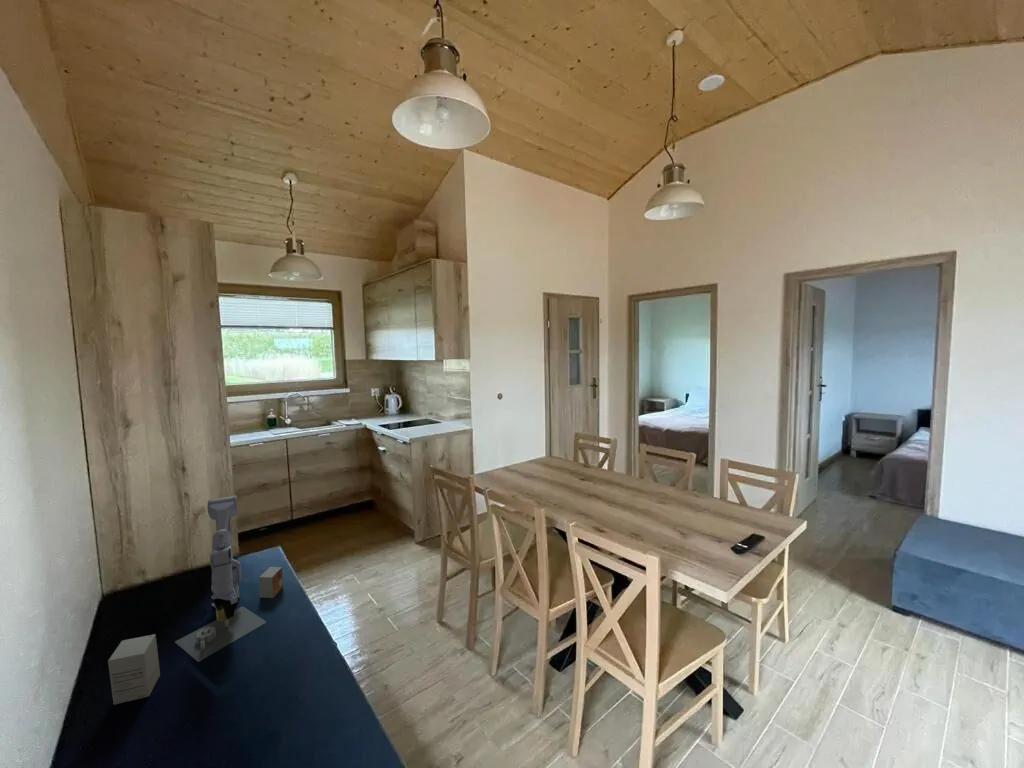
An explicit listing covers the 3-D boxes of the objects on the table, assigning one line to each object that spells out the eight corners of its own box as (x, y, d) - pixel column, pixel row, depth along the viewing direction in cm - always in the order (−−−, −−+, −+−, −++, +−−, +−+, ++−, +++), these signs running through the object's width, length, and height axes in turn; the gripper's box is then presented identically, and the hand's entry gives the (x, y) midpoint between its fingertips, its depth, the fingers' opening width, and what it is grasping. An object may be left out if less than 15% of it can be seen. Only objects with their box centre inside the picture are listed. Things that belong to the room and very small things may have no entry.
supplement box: (126, 682, 137) (121, 639, 134) (161, 674, 140) (156, 632, 138) (111, 705, 128) (106, 660, 126) (149, 697, 131) (144, 653, 129)
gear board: (174, 645, 152) (173, 634, 151) (242, 609, 172) (242, 599, 171) (198, 666, 144) (197, 653, 143) (267, 625, 163) (266, 614, 162)
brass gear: (214, 617, 158) (213, 607, 158) (230, 609, 163) (229, 599, 162) (221, 623, 155) (220, 613, 155) (238, 614, 160) (237, 604, 159)
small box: (273, 601, 177) (271, 577, 176) (259, 600, 177) (258, 577, 176) (283, 589, 185) (282, 566, 184) (271, 589, 185) (269, 566, 184)
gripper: (201, 579, 157) (204, 613, 159) (221, 592, 150) (224, 628, 152) (222, 570, 163) (224, 602, 165) (242, 582, 156) (245, 616, 158)
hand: (225, 614), depth 159 cm, fingers closed on brass gear, 6 cm apart
